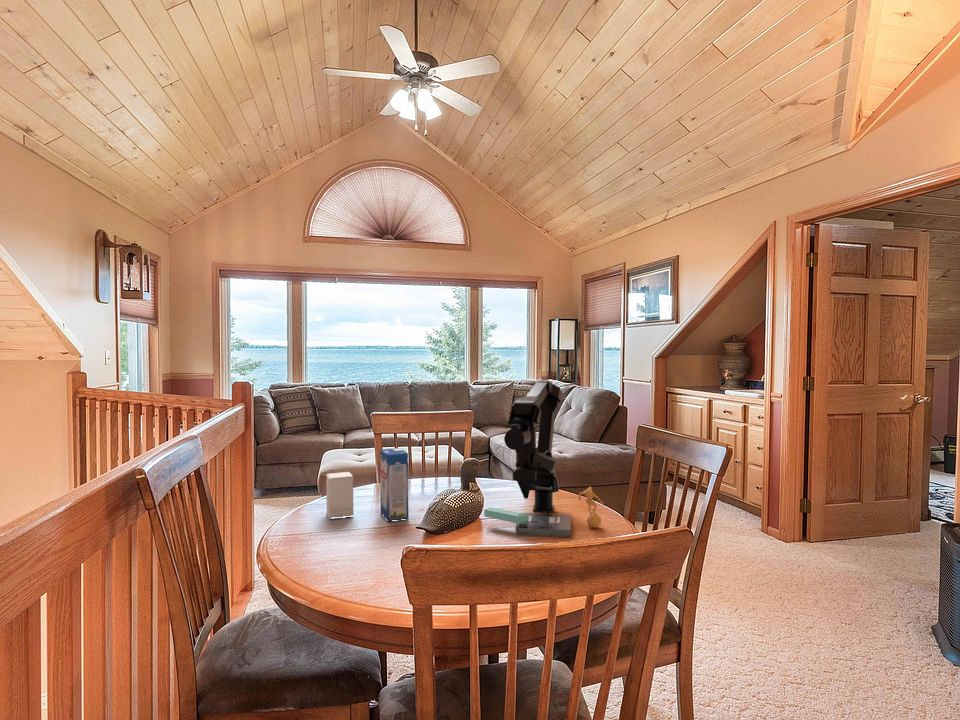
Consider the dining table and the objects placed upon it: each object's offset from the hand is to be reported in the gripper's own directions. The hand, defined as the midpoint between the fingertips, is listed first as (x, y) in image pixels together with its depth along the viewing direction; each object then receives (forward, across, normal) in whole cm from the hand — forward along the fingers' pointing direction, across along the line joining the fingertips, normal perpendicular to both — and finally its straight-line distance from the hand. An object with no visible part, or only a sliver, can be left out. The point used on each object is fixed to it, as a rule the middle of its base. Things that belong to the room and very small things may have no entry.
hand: (526, 498), depth 155 cm
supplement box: (+8, +3, +58) cm, 58 cm away
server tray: (+8, -1, -5) cm, 9 cm away
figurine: (+8, 0, -19) cm, 20 cm away
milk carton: (+8, +4, +40) cm, 42 cm away
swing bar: (+5, -4, +5) cm, 8 cm away
